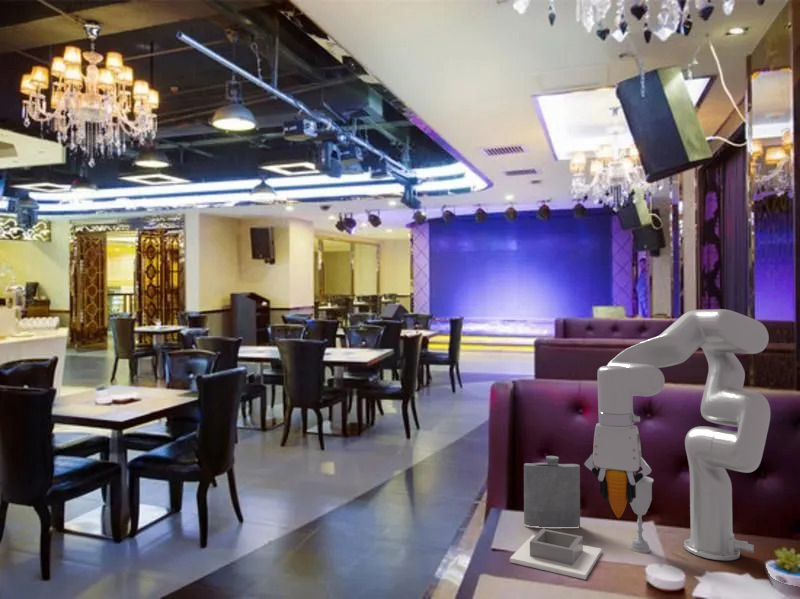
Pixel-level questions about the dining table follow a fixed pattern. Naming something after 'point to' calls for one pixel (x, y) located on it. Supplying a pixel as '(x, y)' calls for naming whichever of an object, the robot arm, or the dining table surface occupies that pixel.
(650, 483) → the chalice
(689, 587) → the dining table surface
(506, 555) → the dining table surface
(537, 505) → the hip flask
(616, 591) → the dining table surface
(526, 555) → the stand
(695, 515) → the robot arm
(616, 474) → the carrot
